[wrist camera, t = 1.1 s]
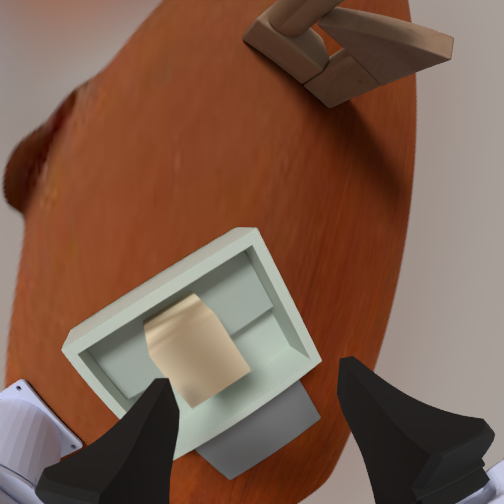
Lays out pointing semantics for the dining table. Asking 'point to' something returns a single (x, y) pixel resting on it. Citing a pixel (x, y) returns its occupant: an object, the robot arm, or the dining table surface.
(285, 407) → the mat
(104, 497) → the robot arm
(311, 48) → the wooden block structure
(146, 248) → the dining table surface
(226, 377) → the birch block
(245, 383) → the box
